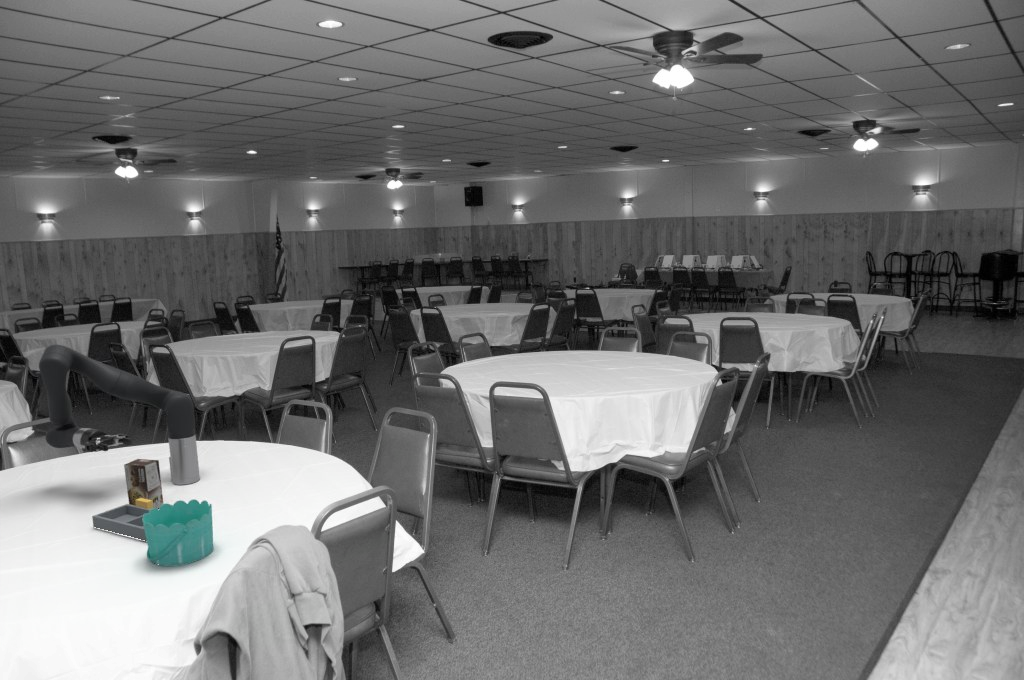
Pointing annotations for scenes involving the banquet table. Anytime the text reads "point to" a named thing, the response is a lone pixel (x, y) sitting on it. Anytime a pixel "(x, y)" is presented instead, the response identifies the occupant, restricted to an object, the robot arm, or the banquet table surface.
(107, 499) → the banquet table surface
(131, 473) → the coffee box
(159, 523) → the basket
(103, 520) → the grey divided tray
